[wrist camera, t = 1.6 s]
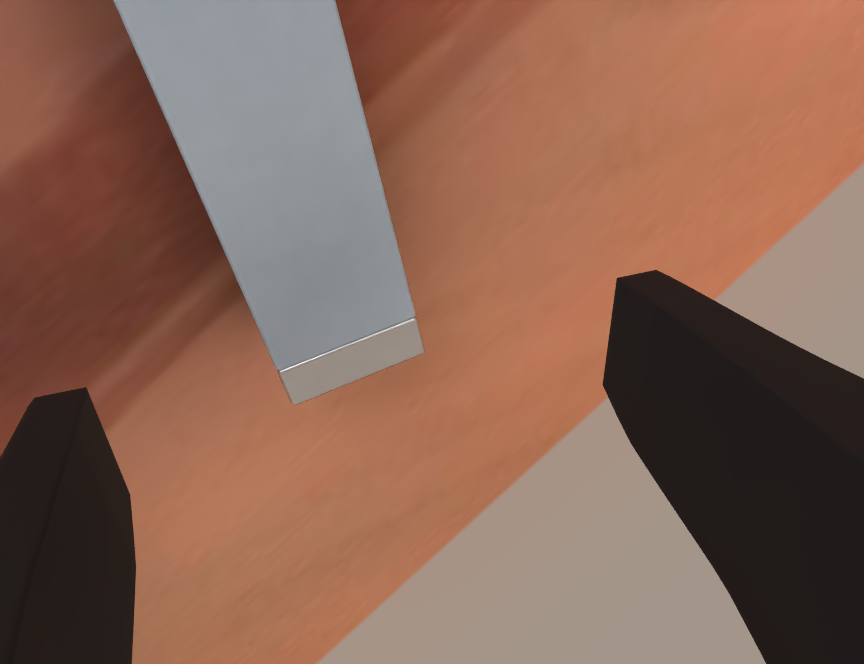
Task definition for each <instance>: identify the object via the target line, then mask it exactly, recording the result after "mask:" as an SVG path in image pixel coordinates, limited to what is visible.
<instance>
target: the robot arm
mask: <svg viewBox="0 0 864 664" xmlns="http://www.w3.org/2000/svg"><path fill="white" fill-rule="evenodd" d="M603 387H604V389H605V391H606V393H607V395H608V397H609V400H610V402H611V403H612V406H613V408H614V410H615V412H616V415H617V417H618V419H619V421H620V423H621V424H622V427H623V429H624V430H625V433H626V435H627V437H628V438H629V440H630V443H631V444H632V446H633V447H634V449H635V451H636V452H637V454H638V455H639V457H640V458H641V460H642V461H643V463H644V464H645V466H646V467H647V469H648V470H649V472H650V474H651V475H652V476H653V478H654V480H655V481H656V483H657V484H658V485H659V487H660V489H661V490H662V492H663V493H664V495H665V496H666V498H667V499H668V501H669V502H670V504H671V505H672V506H673V508H674V510H675V511H676V512H677V514H678V515H679V517H680V518H681V520H682V521H683V523H684V524H685V526H686V527H687V529H688V530H689V532H690V533H691V534H692V536H693V538H694V539H695V541H696V542H697V544H698V545H699V547H700V548H701V550H702V551H703V553H704V554H705V556H706V557H707V559H708V560H709V562H710V563H711V565H712V566H713V568H714V569H715V571H716V573H717V574H718V576H719V577H720V579H721V581H722V582H723V584H724V586H725V587H726V589H727V591H728V592H729V594H730V596H731V598H732V599H733V601H734V603H735V605H736V607H737V609H738V611H739V613H740V615H741V617H742V618H743V620H744V622H745V624H746V626H747V628H748V630H749V632H750V634H751V635H752V637H753V639H754V641H755V643H756V645H757V647H758V649H759V650H760V652H761V654H762V656H763V658H764V660H765V662H766V664H864V379H863V378H861V377H859V376H857V375H855V374H853V373H851V372H849V371H846V370H845V369H842V368H840V367H838V366H836V365H834V364H832V363H830V362H828V361H826V360H823V359H821V358H820V357H818V356H816V355H814V354H812V353H810V352H808V351H806V350H804V349H802V348H800V347H798V346H796V345H794V344H792V343H791V342H789V341H787V340H785V339H783V338H781V337H779V336H777V335H775V334H774V333H772V332H770V331H768V330H766V329H764V328H763V327H761V326H759V325H757V324H755V323H753V322H752V321H750V320H748V319H746V318H744V317H743V316H741V315H739V314H737V313H735V312H734V311H732V310H730V309H728V308H726V307H725V306H723V305H721V304H719V303H717V302H716V301H714V300H712V299H710V298H709V297H707V296H705V295H703V294H701V293H699V292H698V291H696V290H694V289H692V288H690V287H689V286H687V285H685V284H683V283H681V282H679V281H677V280H675V279H673V278H672V277H670V276H668V275H665V274H663V273H661V272H659V271H657V270H654V271H649V272H644V273H639V274H634V275H629V276H625V277H620V278H617V281H616V289H615V296H614V304H613V311H612V319H611V326H610V334H609V341H608V349H607V356H606V364H605V371H604V379H603ZM135 577H136V561H135V547H134V533H133V522H132V511H131V500H130V493H129V491H128V488H127V486H126V484H125V481H124V479H123V476H122V474H121V471H120V469H119V466H118V464H117V462H116V459H115V457H114V454H113V452H112V449H111V447H110V444H109V442H108V440H107V437H106V435H105V432H104V430H103V427H102V425H101V422H100V420H99V418H98V415H97V413H96V410H95V408H94V405H93V403H92V400H91V398H90V396H89V393H88V391H87V388H86V387H85V388H80V389H75V390H70V391H65V392H60V393H56V394H51V395H46V396H41V397H36V398H34V399H33V401H32V402H31V403H30V405H29V406H28V408H27V410H26V411H25V413H24V415H23V417H22V419H21V421H20V422H19V424H18V426H17V428H16V430H15V432H14V433H13V435H12V437H11V439H10V441H9V443H8V445H7V446H6V448H5V450H4V452H3V454H2V455H1V457H0V664H132V645H133V625H134V602H135Z"/></svg>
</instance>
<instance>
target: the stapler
mask: <svg viewBox="0 0 864 664" xmlns="http://www.w3.org/2000/svg"><path fill="white" fill-rule="evenodd" d="M113 1H114V3H115V5H116V7H117V10H118V12H119V14H120V17H121V19H122V21H123V23H124V26H125V28H126V30H127V32H128V35H129V37H130V39H131V41H132V44H133V46H134V48H135V50H136V53H137V55H138V57H139V60H140V62H141V64H142V66H143V69H144V71H145V73H146V75H147V78H148V80H149V82H150V84H151V87H152V89H153V91H154V93H155V96H156V98H157V100H158V103H159V105H160V107H161V109H162V112H163V114H164V116H165V118H166V121H167V123H168V125H169V127H170V130H171V132H172V134H173V137H174V139H175V141H176V143H177V146H178V148H179V150H180V152H181V155H182V157H183V159H184V161H185V164H186V166H187V168H188V170H189V173H190V175H191V177H192V180H193V182H194V184H195V186H196V189H197V191H198V193H199V195H200V198H201V200H202V202H203V204H204V207H205V209H206V211H207V213H208V216H209V218H210V220H211V223H212V225H213V227H214V229H215V232H216V234H217V236H218V238H219V241H220V243H221V245H222V247H223V250H224V252H225V254H226V257H227V259H228V261H229V263H230V266H231V268H232V270H233V272H234V275H235V277H236V279H237V281H238V284H239V286H240V288H241V290H242V293H243V295H244V297H245V300H246V302H247V304H248V306H249V309H250V311H251V313H252V315H253V318H254V320H255V322H256V324H257V327H258V329H259V331H260V333H261V336H262V338H263V340H264V343H265V345H266V347H267V349H268V352H269V354H270V356H271V358H272V361H273V363H274V365H275V367H276V369H277V372H278V374H279V376H280V379H281V381H282V383H283V386H284V388H285V390H286V392H287V395H288V397H289V399H290V401H291V403H292V404H293V405H297V404H300V403H302V402H304V401H307V400H309V399H312V398H314V397H317V396H319V395H322V394H324V393H327V392H329V391H332V390H334V389H337V388H339V387H341V386H344V385H346V384H349V383H351V382H354V381H356V380H359V379H361V378H364V377H366V376H369V375H371V374H374V373H376V372H378V371H381V370H383V369H386V368H388V367H391V366H393V365H396V364H398V363H401V362H403V361H406V360H408V359H411V358H413V357H415V356H418V355H420V354H423V353H424V346H423V342H422V338H421V334H420V330H419V326H418V322H417V318H416V316H415V310H414V306H413V302H412V298H411V295H410V291H409V287H408V283H407V279H406V275H405V271H404V267H403V263H402V259H401V255H400V252H399V248H398V244H397V240H396V236H395V232H394V228H393V224H392V220H391V216H390V212H389V208H388V205H387V201H386V197H385V193H384V189H383V185H382V181H381V177H380V173H379V169H378V165H377V162H376V158H375V154H374V150H373V146H372V142H371V138H370V134H369V130H368V126H367V122H366V118H365V115H364V111H363V107H362V103H361V99H360V95H359V91H358V87H357V83H356V79H355V75H354V72H353V68H352V64H351V60H350V56H349V52H348V48H347V44H346V40H345V36H344V32H343V28H342V25H341V21H340V17H339V13H338V9H337V5H336V1H335V0H113Z"/></svg>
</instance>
